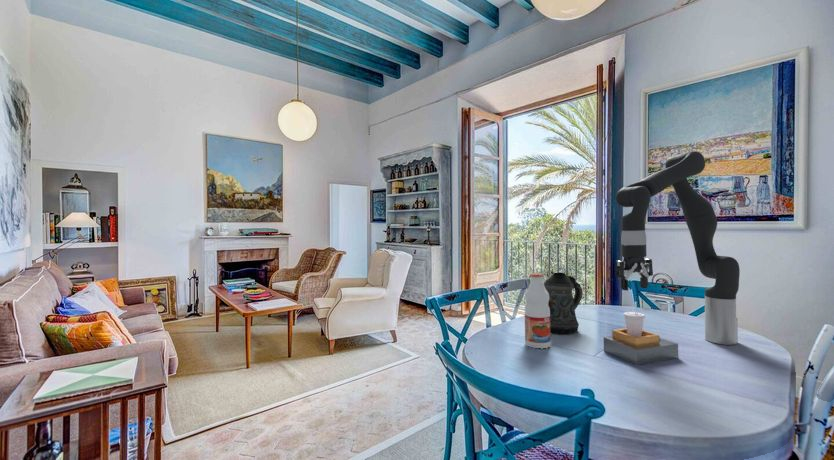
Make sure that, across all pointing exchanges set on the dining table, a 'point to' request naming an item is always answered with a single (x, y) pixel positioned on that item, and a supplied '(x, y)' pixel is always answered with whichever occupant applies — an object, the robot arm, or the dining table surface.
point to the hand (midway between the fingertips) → (634, 289)
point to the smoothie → (634, 322)
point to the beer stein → (563, 303)
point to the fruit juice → (537, 313)
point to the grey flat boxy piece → (640, 347)
